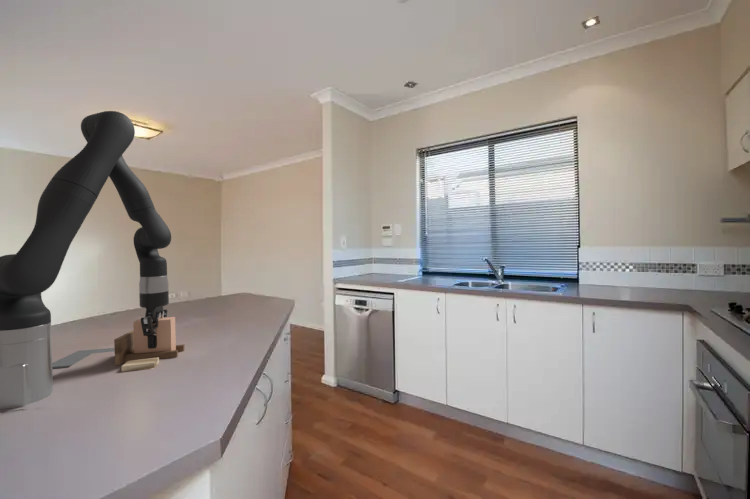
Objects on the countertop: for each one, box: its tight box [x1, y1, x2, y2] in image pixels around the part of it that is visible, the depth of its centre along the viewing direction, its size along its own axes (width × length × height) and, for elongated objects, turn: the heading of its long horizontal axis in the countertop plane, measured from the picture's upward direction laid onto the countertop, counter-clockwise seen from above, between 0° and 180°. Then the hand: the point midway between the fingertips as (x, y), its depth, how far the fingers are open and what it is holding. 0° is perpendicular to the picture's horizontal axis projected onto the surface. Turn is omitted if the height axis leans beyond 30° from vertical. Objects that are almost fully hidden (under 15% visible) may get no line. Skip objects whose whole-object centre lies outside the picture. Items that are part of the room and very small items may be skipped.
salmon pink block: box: [133, 316, 177, 354], centre depth 102 cm, size 4×10×12 cm, turn 104°
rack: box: [113, 329, 185, 366], centre depth 102 cm, size 12×15×8 cm
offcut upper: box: [121, 357, 160, 373], centre depth 92 cm, size 5×8×2 cm, turn 110°
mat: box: [52, 347, 115, 370], centre depth 103 cm, size 16×16×1 cm
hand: (155, 345), depth 102 cm, fingers closed on salmon pink block, 4 cm apart
